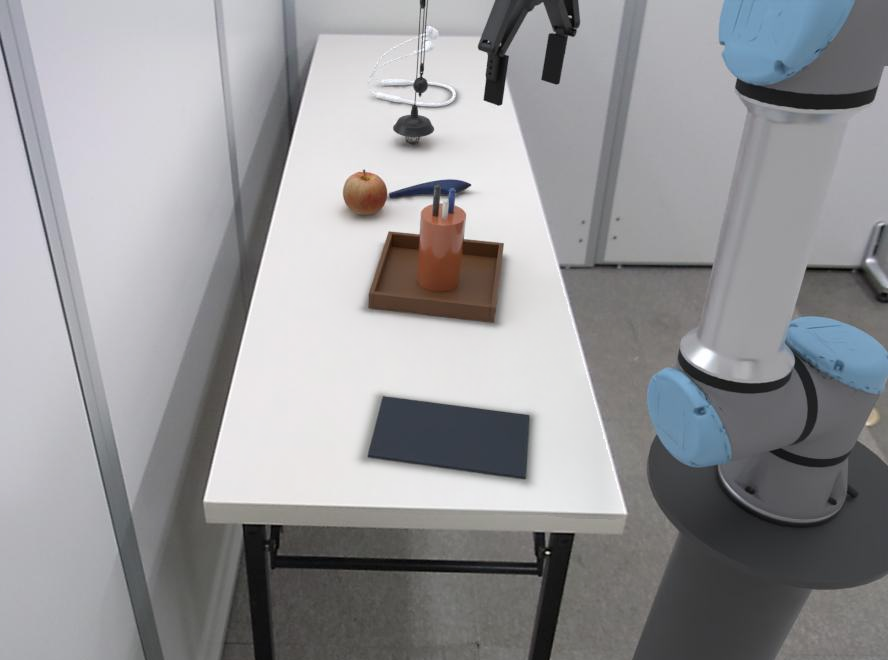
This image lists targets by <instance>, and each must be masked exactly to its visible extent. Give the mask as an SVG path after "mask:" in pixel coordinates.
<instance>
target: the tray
mask: <svg viewBox="0 0 888 660" xmlns="http://www.w3.org/2000/svg"><path fill="white" fill-rule="evenodd" d="M385 238H386V239H385V241H384V244H383V248H382V251H381V254H380V257H379V260H378V263H377V267H376V268H375V269H376V270H375V273H374V276H373V279H372V281H371V285H370V288H369V292H368V306H367V307H368V309H373V310H379V311H380V310H381V311H391V312H397V313H407V314H417V315H423V316H424V315H425V316H432V317H433V316H434V317H442V318H450V319H458V320H467V321H476V322H485V323H495V318H496V311H497V303H498V295H499V288H500V287H499V286H500V279H501V271H502V262H503V255H504V254H503V253H504V245H505V243H504V242H498V241H497V242H496V241H487V240H479V239H478V240H476V239H470V238H469V239H467V238H464V243H463V253H462V262H461V272H460V282H459V285H458V286H457V287H456V288H454V289H452V290H450V291H445V292H435V291H430V290H427V289H424V288H423V287H421V286H420V285H419V284H418V282H417V264H418V249H419V233H410V232H400V231H388V233H387V235H386V237H385Z"/></svg>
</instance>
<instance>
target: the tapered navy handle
mask: <svg viewBox="0 0 888 660" xmlns="http://www.w3.org/2000/svg"><path fill="white" fill-rule="evenodd" d="M436 185H439V186H440V187H441V191H440V196H441V195H443V196H449V190H450V189H451V188H454V189H455V190H456V194H455V195H457V194H460V193H461V192H463V191H465V190H467V189H468V188H470V187H472V184H471V183H469V182H466V181H464V180H461V179H454V178H453V179H452V178H451V179H450V178H449V179H438V180H432V181H431V180H430V181H427V182H423V183H418V184H415V185H411V186H408V187H404V188H401V189H397V190H395V191H391V192H389V193H388V196H389V198H390V199H393V198H401V197H409V196H418V195H434V187H435V186H436Z"/></svg>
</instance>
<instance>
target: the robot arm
mask: <svg viewBox="0 0 888 660" xmlns="http://www.w3.org/2000/svg"><path fill="white" fill-rule="evenodd" d="M542 3H543V6H544V8H545V11H546V14H547V17H548V19H549V23H550V25H551V29H552V31H553V32H554V33H553V32H551V33H548V34H547V35H548V36H547V43H546V47H545V48H546V49H545V55H544V60H543V67H542V73H541V79H540V80H541V81H543V82H547V83H549V84H553V85H556V86H557V85H560V82H561V77H562V72H563V65H564V60H565V55H566V50H567V44H568V39H569V37H571V38H574V37H576V35H577V33H578V29H579V28H580V26H581V15H580V3H579V0H494V3H493V5H492V8H491V10H490V12H489V16H488V18H487V21H486V23H485V26H484V28H483V31H482V33H481V35H480V36H481V37H480V39H479V41H478V44H477V49H478V51H481V52H484V53H486V54H487V60H486V68H485V85H484V91H483V99H482V100H483V101H484V102H486V103H489V104H492V105H495V106H497V107H499V106H502V105H503V101H504V95H505V88H506V81H507V74H508V66H509V58H510V56H509V55H507V54H506V53H507V51H508V49H509V47H510V46H511V44H512V42H513V40H514V38H515V36H516V35H517V33H518V32H519V29H520V27H521V26H522V24H523V22H524V21H525V19H526V16H528V13H530V12H533V10H534V9H535V7H537V6H539V5H541V4H542ZM718 42H719V45H720V46H724V48H723V50H722V52H721V57H722V60H723V62H724V65H725V66H726V68H727V70H728V71H729V73H731V74H732V75H733V76H734V77H735V78H736V81H735V85H734V94H735V95H736V96H737V97H738V99H739V100H740V101H741V102H742V104H743V105H744V107H745V108H746V115H745V120H744V124H743V130H742V134H741V139H740V143H739V147H738V152H737V155H736V156H737V157H736V161H735V164H734V169H733V174H732V178H731V183H730V187H729V191H728V195H727V201H726V204H725V209H724V214H723V219H722V223H721V227H720V232H719V236H718V240H717V246H716V250H715V255H714V258H713V263H712V268H711V272H710V276H709V282H708V285H707V290H706V295H705V299H704V303H703V306H702V307H703V308H702V312H701V315H700V316H701V317H700V321H699V325H698V326H697V327H695V328H693V329H691V330H689V331H688V332H686V333H685V334H684V336H683V337H682V338H681V340H680V344H679V349H678V353H677V357H676V361H675V364H674V366H673V367H670V366H669V367H668V366H666V367H663V368H662V369H661V370H660V371H658V372H656V373H654V374H653V375H652V376H651V378H650V380H649V382H648V385H647V391H646V405H647V410H648V414H649V418H650V421H651V424H652V426H653V428H654V431H655V433H656V435H658V437H659V439H660V440H661V442H662V444H663V445H664V446H665V448H666V449H667V450H668V451H669V452H670V453H671V454H672V455H673V456H674V457H675V458H676V459H677V460H679V461H680V462H682V463H684V464H686V465H688V466H691V467H707V466H713V465H716V477H717V480H718V483H719V485H720V487H721V488H722V490H723V491H724V493H725V494H726V495H727V496H728V497H729V498H730V499H731V500H732V501H733V502H734V503H735V504H736V505H737V506H739V507H740V508H742V509H743V510H744V511H746V512H748V513H749V514H751V515H753V516H755V517H757V518H759V519H762V520H764V521H767V522H770V523H773V524H777V525H781V526H786V527H795V528H807V527H814V526H819V525H822V524H825V523H827V522H829V521H830V520H832V519H833V518H834V517H835V516H836V515H837V514H838V513H839V511H840V509H841V507H842V505H843V503H844V501H845V498H846V494H849V495H850V496H851V497H852V498H856V497H857V496H858V495H859V492H857V491H856V490H855V489H854V488H852V487H851V486H850V485H849V484H848V483H847V482H848V457H849V454H850V453H851V451H852V449H853V447H854V445H855V443H856V441H858V440H859V437H860V435H861V434H862V431H863V429H864V428H865V425H866V423H867V421H868V419H869V418H870V416H871V414H872V412H873V410H874V408H875V406H876V404H877V402H878V400H879V398H880V397H881V394H883V393H884V392H885V391H886V383H887V381H888V351H887V350H886V348H885V347H884V346H883V345H882V344H881V343H880V342H879V341H877V339H876V338H874V337H873V336H871V335H870V334H868V333H867V332H865V331H863V330H862V329H859V328H857V327H856V326H854V325H852V324H851V325H850V324H848V323H845V322H843V321H841V320H836V319H833V318H828V317H823V316H816V315H815V316H814V315H813V316H812V315H811V316H810V315H809V316H801V317H798V318H794V319H793V320H792V318H793V315H794V311H795V309H796V304H797V301H798V298H799V294H800V290H801V288H802V283H803V280H804V276H805V273H806V271H807V266H808V263H809V260H810V257H811V253H812V249H813V246H814V242H815V239H816V235H817V233H818V232H817V231H818V229H819V225H820V222H821V217H822V214H823V211H824V209H825V204H826V201H827V197H828V193H829V191H830V187H831V183H832V181H833V176H834V173H835V170H836V166H837V163H838V159H839V155H840V152H841V149H842V145H843V142H844V138H845V136H846V131H847V128H848V125H849V121H851V120H852V118H854V117H855V116H856V115H858V114H860V113H861V112H863V111H864V110H866V109H868V108H870V107H871V106H872V105H873V104H874V102H875V99H876V96H877V92H878V90H879V86H880V83H881V79H882V76H883V72H884V69H885V67H888V0H723V3H722V7H721V11H720V15H719V22H718Z"/></svg>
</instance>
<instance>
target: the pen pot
mask: <svg viewBox="0 0 888 660" xmlns="http://www.w3.org/2000/svg"><path fill="white" fill-rule="evenodd" d="M440 191H441V187H440V186H439V185H436V186H435V187H434V194H433V195H432V204H429V205H426V206H425V207H423V209H421V211H420V220H419V232H418V234H419V249H418V264H417V282H418V284H419V285H420V286H421V287H423V288H424V289H427V290H430V291H435V292H445V291H450V290H452V289H454V288H456V287H457V286H458V285H459V282H460V272H461V262H462V253H463V243H464V239H465V232H466V222H467V213H466V212H465V210H464V209H463V208H461V207H459V206H457V205H455V203H456V195H457V194H456V190H455V189H454V188H451V189H450V190H449V195H448V199H444V200H443V201H442V203H441V194H440Z"/></svg>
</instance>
